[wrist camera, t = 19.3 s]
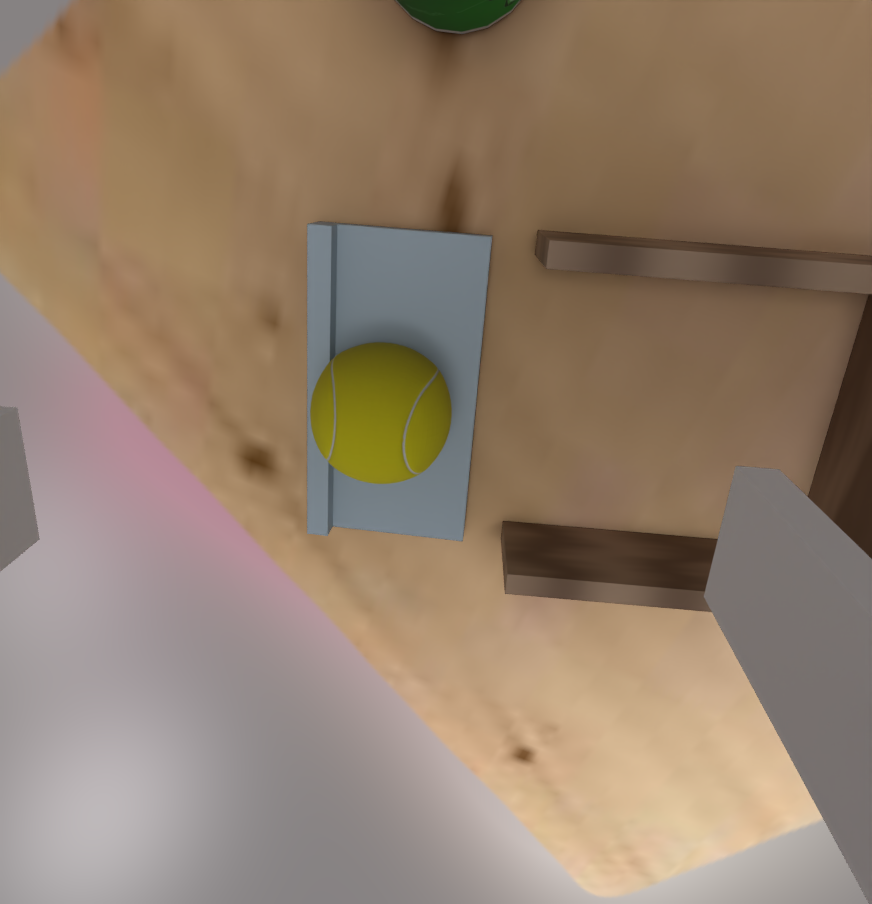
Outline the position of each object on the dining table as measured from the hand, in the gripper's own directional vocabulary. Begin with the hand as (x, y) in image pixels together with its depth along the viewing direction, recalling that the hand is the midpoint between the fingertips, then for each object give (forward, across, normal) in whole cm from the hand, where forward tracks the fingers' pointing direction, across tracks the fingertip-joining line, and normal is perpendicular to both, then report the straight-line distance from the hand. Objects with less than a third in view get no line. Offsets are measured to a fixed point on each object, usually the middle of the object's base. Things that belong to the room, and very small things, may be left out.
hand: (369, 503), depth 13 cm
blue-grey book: (+24, -2, +6) cm, 25 cm away
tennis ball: (+25, +2, +6) cm, 25 cm away
